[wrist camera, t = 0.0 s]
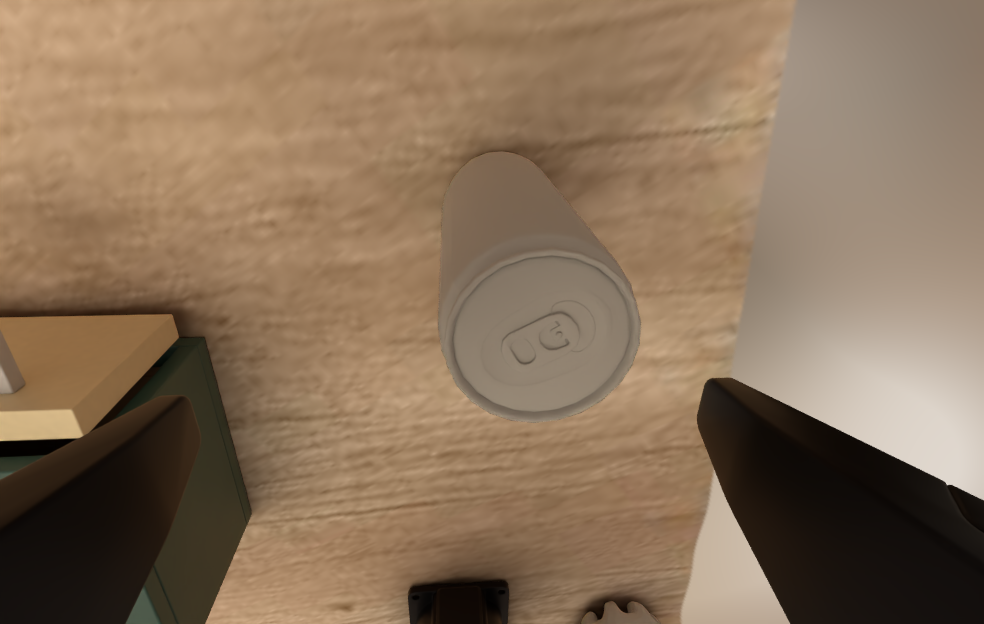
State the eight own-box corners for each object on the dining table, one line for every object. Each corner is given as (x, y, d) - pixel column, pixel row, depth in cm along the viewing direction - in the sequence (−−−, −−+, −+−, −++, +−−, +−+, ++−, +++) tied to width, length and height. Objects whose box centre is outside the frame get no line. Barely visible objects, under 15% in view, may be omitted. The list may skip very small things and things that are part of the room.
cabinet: (-62, 343, 23) (-313, 485, 16) (204, 337, 24) (91, 468, 16) (36, 524, 28) (-115, 697, 21) (252, 513, 29) (183, 676, 22)
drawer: (-148, 203, 19) (-416, 270, 13) (139, 202, 20) (8, 265, 14) (15, 499, 26) (-114, 632, 20) (224, 489, 27) (161, 614, 21)
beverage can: (569, 227, 23) (674, 376, 12) (474, 275, 24) (497, 455, 13) (523, 127, 21) (602, 202, 10) (421, 182, 22) (395, 307, 11)
